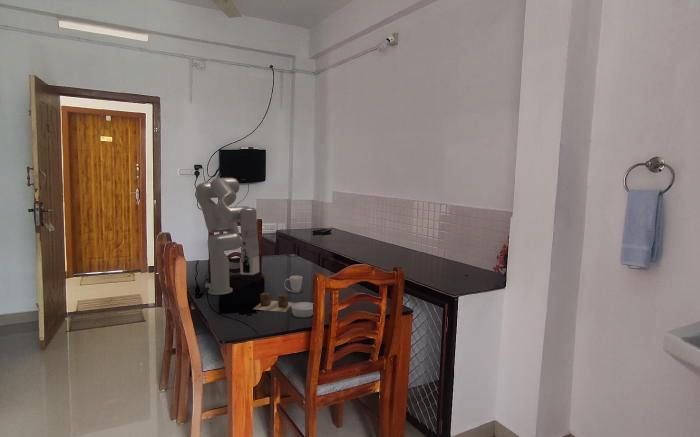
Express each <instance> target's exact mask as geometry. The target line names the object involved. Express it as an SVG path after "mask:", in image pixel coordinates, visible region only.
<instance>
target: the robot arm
mask: <svg viewBox="0 0 700 437" xmlns="http://www.w3.org/2000/svg"><path fill="white" fill-rule="evenodd" d="M239 190H240V183H239V181H238V179H236V178H234V177H217V178H214V179H213V180H211V182H207V181H206V182H202V183H201V182H200V183H199V184H198V185H197V186H196V187H195V197H196V201H197V202H198V205H199V206H200V209H201V210H202V213H203V217H204V222H205V227H206V229H207V231H208V232H209V233H214V234H212V235H210V236H209V237H208V239H207V248H208V252H209V264H210V266H209V268H210V282H209V283H208V282H206V283H205V285H204V287H205V288H208V290H207V293H208V294H209V295H213V296H221V295H222V296H223V295H227V294H230V293H232V292H233V288H232V287H230V262H229V257H228V256H227V254H226V253H225V252H227V251H234V250H239V249H240V258H241V260H242V264H243V272H244V273H250V264H249V258H250V259H251V258H254V257H256V256H260V247H259V240H258V223H257V222H258V219H257V218H258V216H257V215H258V214H257V209H256V208H255V207H249V206H247V205H243V206H231V205H233V204H234V203H235V202H236V200H237V193H238V192H239ZM213 199H218V203H216V202H215V201H214V200H213ZM238 223H240V229H239V226H238ZM215 233H216V234H215ZM245 257H248V258H245ZM245 259H247V261H246V260H245Z"/></svg>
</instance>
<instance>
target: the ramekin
mask: <svg viewBox="0 0 700 437" xmlns="http://www.w3.org/2000/svg"><path fill="white" fill-rule="evenodd" d="M313 304H314V303H313V302H309V301H298V302H295V303H294V304H293V305H292V306H291V307H290V308H291V314H292V316H293V317H295V318H296V317H297V318H310V317H313V316H314V315H313ZM312 315H313V316H312Z"/></svg>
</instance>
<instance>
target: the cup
mask: <svg viewBox="0 0 700 437" xmlns="http://www.w3.org/2000/svg"><path fill="white" fill-rule="evenodd" d="M286 281H289V282H290V287H291V290H290V289H289V288H287V287H286ZM302 285H303V276H302V275H291V276H289V278H286V279H285V280H284V283H283V286H284V289H286V290H287V292H288V291H289V292H291V293H298V294H299V293H300V292H301V289H302Z"/></svg>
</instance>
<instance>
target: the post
mask: <svg viewBox="0 0 700 437" xmlns="http://www.w3.org/2000/svg"><path fill="white" fill-rule="evenodd" d="M277 301H278V307H280V308H286V307H287V306H288V302H289V294H286V293H280V294H279V295H278V296H277Z"/></svg>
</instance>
